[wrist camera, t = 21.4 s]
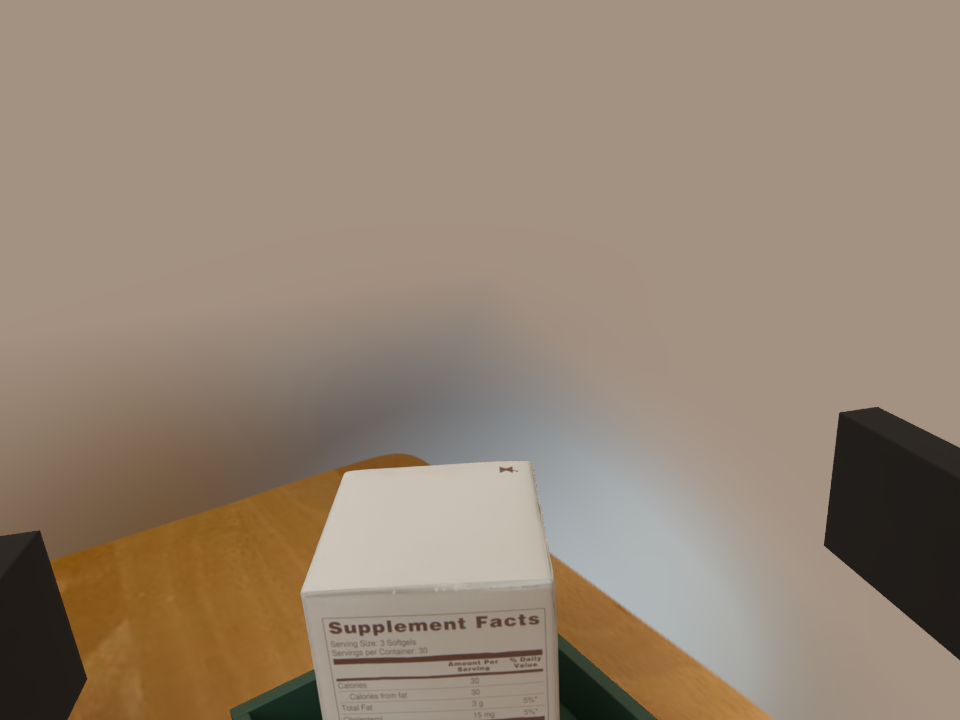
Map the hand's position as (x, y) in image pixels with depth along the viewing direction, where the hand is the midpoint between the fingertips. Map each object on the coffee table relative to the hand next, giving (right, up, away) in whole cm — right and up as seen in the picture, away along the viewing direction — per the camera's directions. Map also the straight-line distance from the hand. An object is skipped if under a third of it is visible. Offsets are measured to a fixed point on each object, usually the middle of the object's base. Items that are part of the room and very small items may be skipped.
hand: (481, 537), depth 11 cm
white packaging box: (-1, -14, +15) cm, 21 cm away
